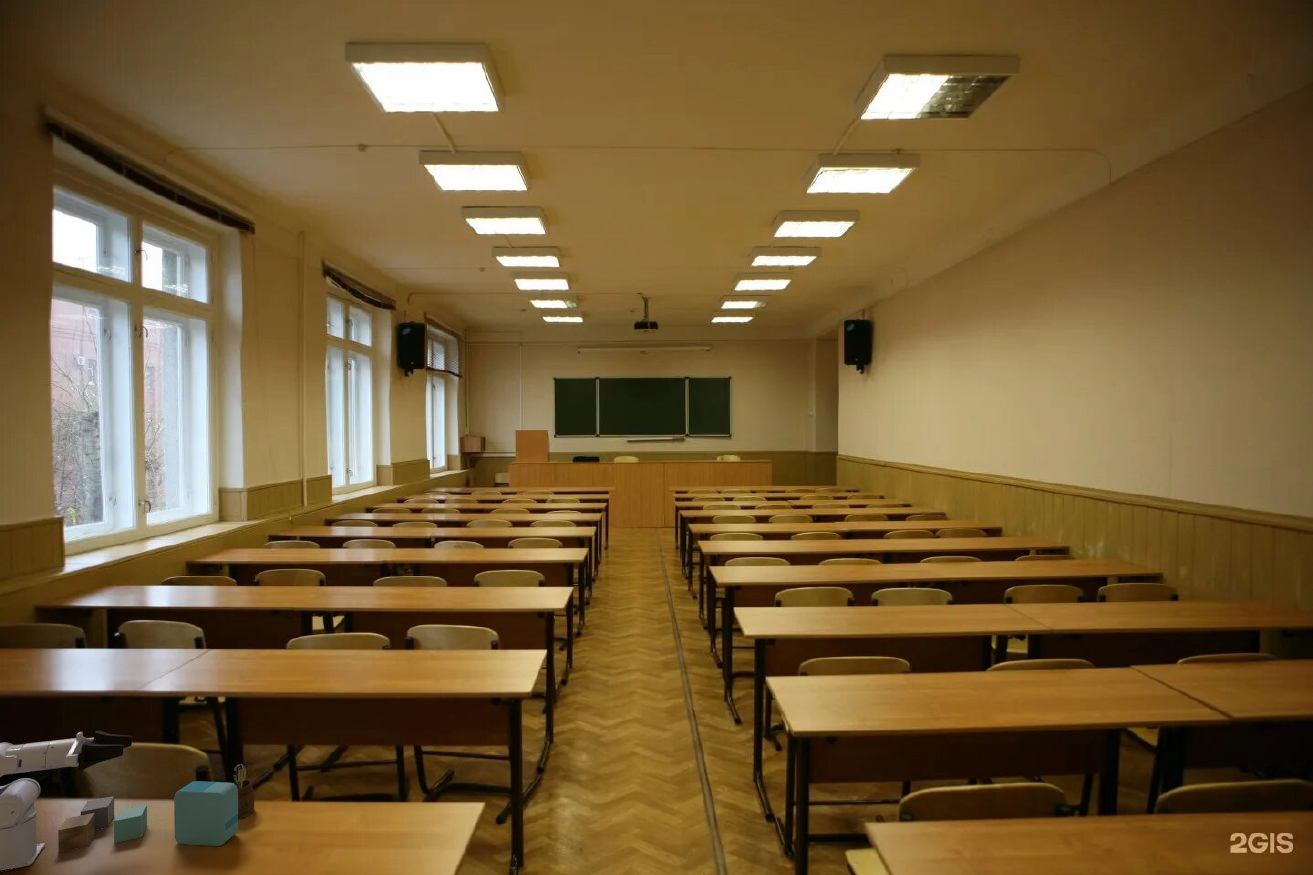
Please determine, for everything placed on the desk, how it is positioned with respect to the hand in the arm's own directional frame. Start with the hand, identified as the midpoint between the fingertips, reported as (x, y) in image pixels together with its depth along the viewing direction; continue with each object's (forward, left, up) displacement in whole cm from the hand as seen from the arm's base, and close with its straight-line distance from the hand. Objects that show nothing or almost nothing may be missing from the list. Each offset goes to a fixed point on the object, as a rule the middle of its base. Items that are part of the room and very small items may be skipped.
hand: (127, 745), depth 154 cm
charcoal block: (-8, +9, -21) cm, 24 cm away
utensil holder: (+22, 0, -21) cm, 30 cm away
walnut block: (-10, +2, -21) cm, 23 cm away
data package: (+16, -9, -21) cm, 28 cm away
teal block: (0, +1, -21) cm, 21 cm away
